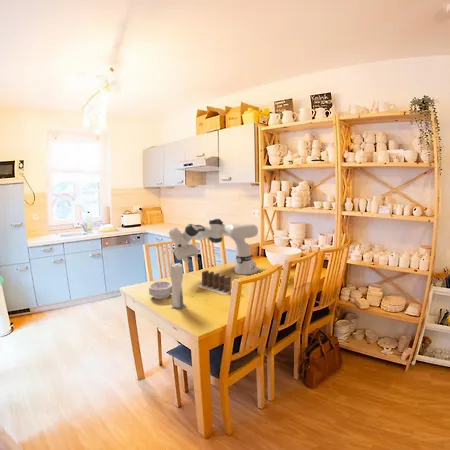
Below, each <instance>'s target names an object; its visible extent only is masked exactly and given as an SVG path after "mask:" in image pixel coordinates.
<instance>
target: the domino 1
mask: <svg viewBox="0 0 450 450" xmlns="http://www.w3.org/2000/svg"><path fill="white" fill-rule="evenodd" d="M207 273H210V272H209V270H207V269H206V270H204V271H201V284H202V286H206V285H207Z"/></svg>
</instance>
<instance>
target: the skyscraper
mask: <svg viewBox="0 0 450 450" xmlns="http://www.w3.org/2000/svg"><path fill="white" fill-rule="evenodd" d="M169 266H170V267H169V268H170V280H171V281H170V283H172V293H171V308H170V309H171V310H184V308H185V306H187V304H185V303H184V294H183V292H184V291H183V286H182V285H183V277H184V276H183V275H184V267H183V266H184V265H183V264H181V263H180V262H178V263H173V261H169Z"/></svg>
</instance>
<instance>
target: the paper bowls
mask: <svg viewBox="0 0 450 450" xmlns="http://www.w3.org/2000/svg"><path fill="white" fill-rule="evenodd" d="M148 294H149V295H150V296H151V297H153V299H156V300H164V299H167V298H168V297H170V295H172V282H171V281H166V280H165V281H155V282H152V283H150V284H149V285H148Z"/></svg>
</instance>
